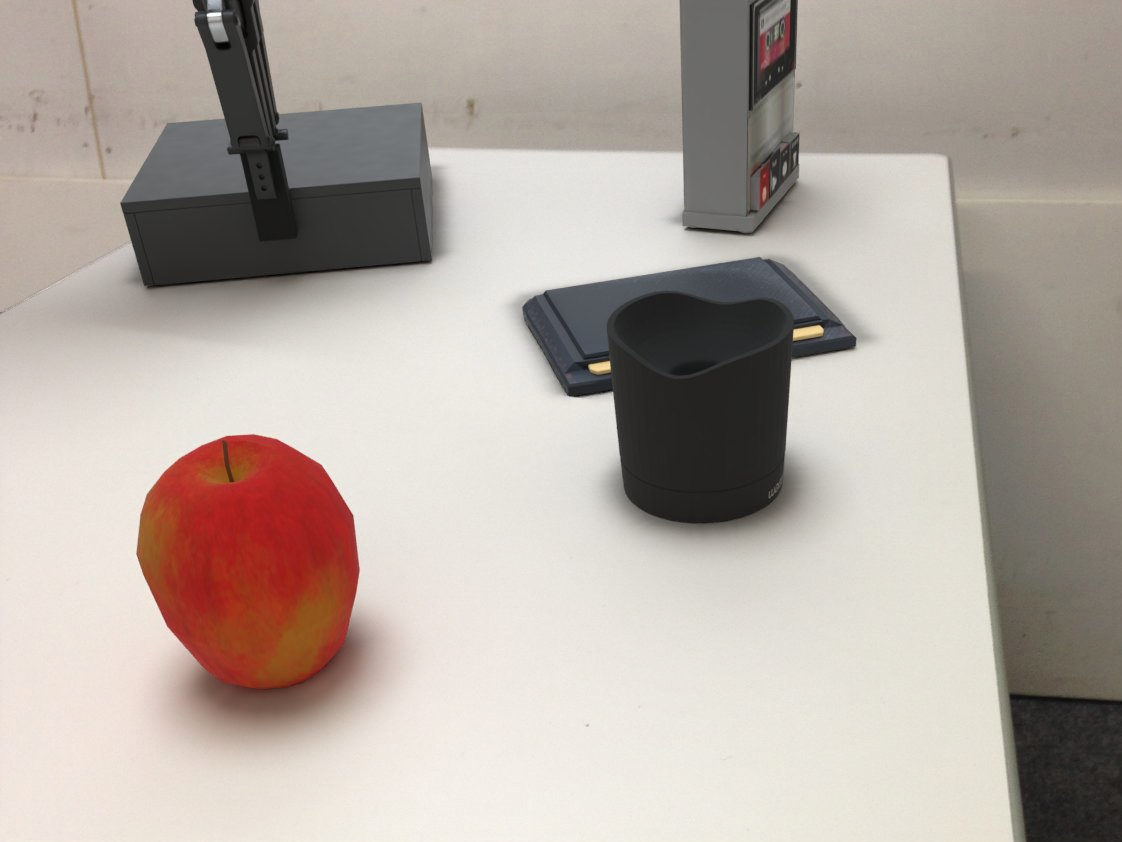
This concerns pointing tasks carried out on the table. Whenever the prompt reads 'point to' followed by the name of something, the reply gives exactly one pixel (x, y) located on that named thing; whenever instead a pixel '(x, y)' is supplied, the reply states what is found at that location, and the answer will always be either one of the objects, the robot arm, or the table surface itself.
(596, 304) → the wallet
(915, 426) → the table surface
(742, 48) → the cassette tape recorder
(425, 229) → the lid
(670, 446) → the pen holder
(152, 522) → the apple
